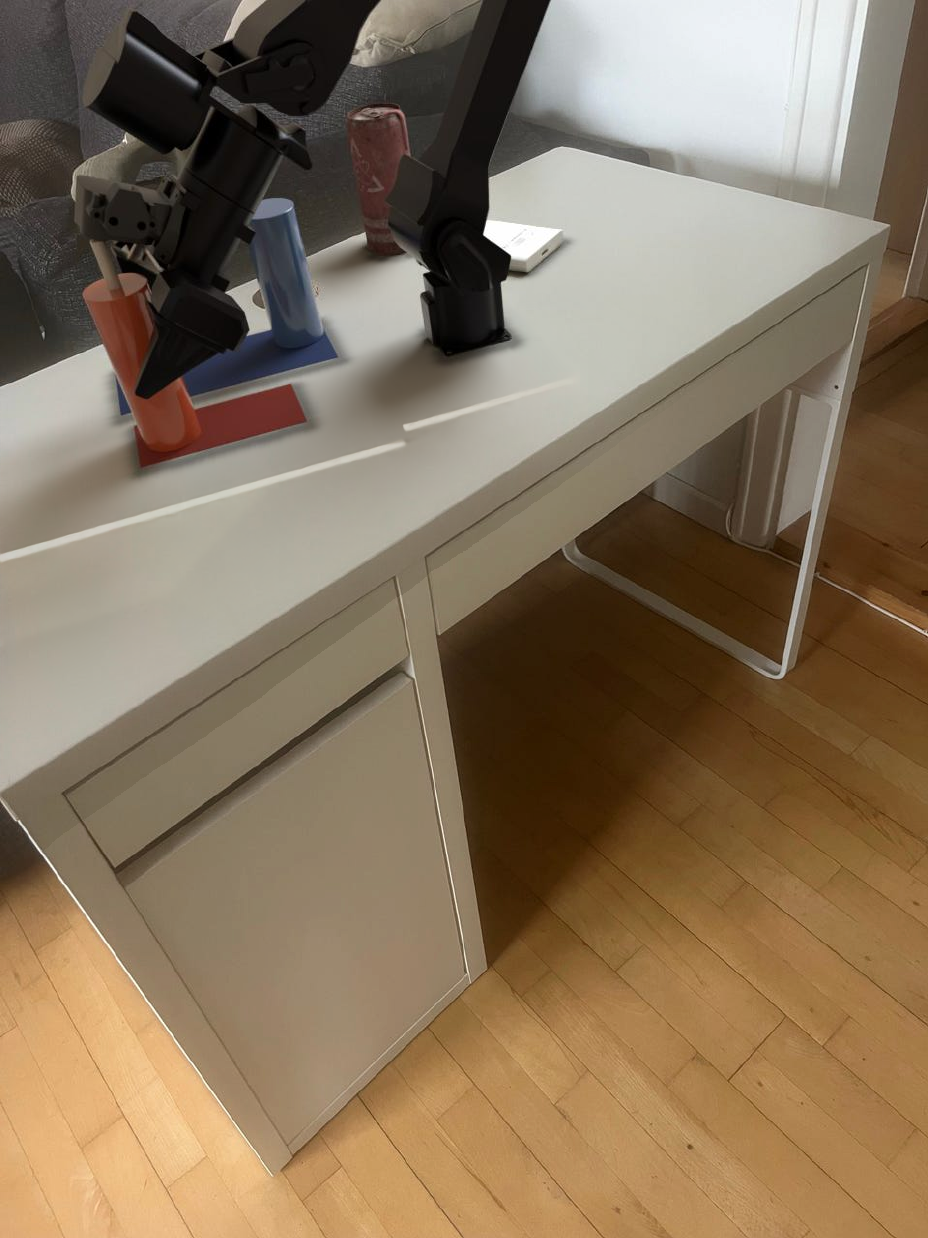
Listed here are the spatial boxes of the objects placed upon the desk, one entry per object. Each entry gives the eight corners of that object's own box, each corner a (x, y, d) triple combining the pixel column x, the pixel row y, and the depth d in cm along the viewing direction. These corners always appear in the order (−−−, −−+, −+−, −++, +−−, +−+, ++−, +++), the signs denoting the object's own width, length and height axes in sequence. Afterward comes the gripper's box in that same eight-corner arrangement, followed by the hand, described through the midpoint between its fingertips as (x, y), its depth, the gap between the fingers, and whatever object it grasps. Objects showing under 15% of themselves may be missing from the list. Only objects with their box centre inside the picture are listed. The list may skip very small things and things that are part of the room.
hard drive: (465, 229, 102) (563, 242, 97) (426, 259, 98) (526, 274, 92) (464, 214, 101) (563, 226, 96) (424, 244, 96) (525, 258, 91)
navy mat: (318, 322, 89) (317, 317, 89) (339, 361, 83) (338, 356, 83) (116, 374, 86) (114, 369, 86) (122, 419, 80) (120, 414, 80)
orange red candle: (186, 413, 78) (114, 220, 67) (211, 434, 75) (140, 236, 64) (135, 437, 76) (52, 242, 65) (159, 459, 74) (76, 259, 62)
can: (418, 258, 98) (397, 117, 88) (362, 260, 99) (336, 121, 89) (430, 235, 102) (412, 98, 92) (377, 237, 103) (353, 102, 94)
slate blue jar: (317, 320, 89) (287, 193, 80) (328, 340, 85) (298, 210, 77) (270, 332, 88) (235, 205, 80) (279, 353, 85) (243, 223, 76)
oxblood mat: (292, 388, 81) (290, 383, 80) (308, 425, 76) (307, 420, 75) (136, 430, 78) (134, 425, 78) (142, 472, 73) (140, 467, 73)
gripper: (89, 97, 67) (7, 284, 72) (144, 158, 55) (40, 379, 59) (221, 180, 75) (139, 344, 79) (296, 250, 62) (193, 440, 67)
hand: (128, 372), depth 71 cm, fingers open, 8 cm apart
